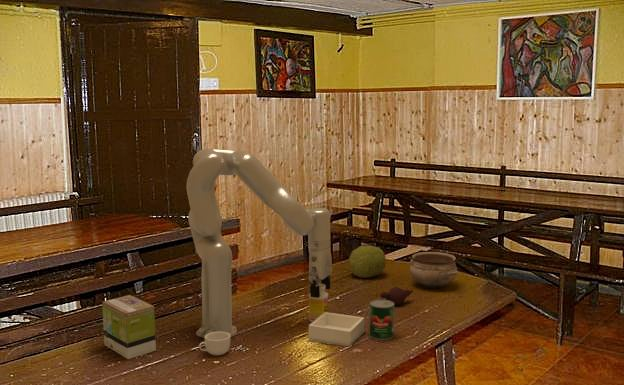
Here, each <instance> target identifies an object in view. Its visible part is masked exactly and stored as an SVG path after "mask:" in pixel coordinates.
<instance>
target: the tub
mask: <svg viewBox="0 0 624 385" xmlns="http://www.w3.org/2000/svg"><path fill="white" fill-rule="evenodd" d="M365 322H366V320H365V317H362V316H356V315H355V316H354V315H347V314H342V313H341V314H340V313H335V312H329V311H328V312H325V313H323V314H322V315H321V316H320V317H319V318H317V319H316V320H315V321H314V322H310V324H308V341H309V342H315V343H320V344H321V343H323V344H327V345H328V344H329V345H335V346H340V345H341V346H342V347H346V346H347V347H349V348H351V347H352V346H353V345H354V344H355V342H357V341H358V340H359V338H360V337H362V335H363V334H364V333H365ZM353 343H354V344H353ZM352 344H353V345H352Z"/></svg>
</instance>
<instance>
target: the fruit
mask: <svg viewBox="0 0 624 385" xmlns="http://www.w3.org/2000/svg"><path fill="white" fill-rule="evenodd" d="M386 258H387V257H386V254H385V252H384V251H383V249H381V248H380V247H377V246H373V245H360V246H358V247H357V248H355V249H354V250H352V251H351V253H350V255H349V258H348V261H349V262H348V263H349V268H350V271H351V272H352V274H354V275H355V276H356V277H358V278H360V279H361V278H363V279H364V278H365V279H368V278H371V277H376V276H379V274H381V273H382V272H383V271H384V270H385V268H386V264H387V259H386Z"/></svg>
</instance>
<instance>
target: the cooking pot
mask: <svg viewBox="0 0 624 385" xmlns="http://www.w3.org/2000/svg"><path fill="white" fill-rule="evenodd" d="M411 257H412V258H411V259H410V266H409V272H410V275H411V277H412V279H414V280H415V281H416V282H417V283H418V284H420V285H422V286H424V287H425V288H427V289H433V288H436V289H440V287H441V288H442V287H444V286H446V285H448V284H450V283H452V282H453V281H454V280H455V279H456V277H457V275H458V274H459V271H458V268H457V264H456V261H455V260H456V259H457V258H456V256H455V255H453V254H450V253H445V252H437V251H422V252H417V253H414V254H412V255H411Z"/></svg>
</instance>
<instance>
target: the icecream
mask: <svg viewBox="0 0 624 385" xmlns="http://www.w3.org/2000/svg"><path fill="white" fill-rule="evenodd" d="M413 292H414V289H413V290H412V289H404V288H402V289H401V287H398V286H397V285H396V286H394V287H393V288H390V290H389V291H388V292H386V291H382V292H381V293H380V294H379V296H380V298H382V299H385V300H389V301H392V302H394V306H399V305H400V306H401V305H403V304H404V303H405V300H406V299H407V298H408V297H409V296H410V295H411V294H413Z"/></svg>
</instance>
